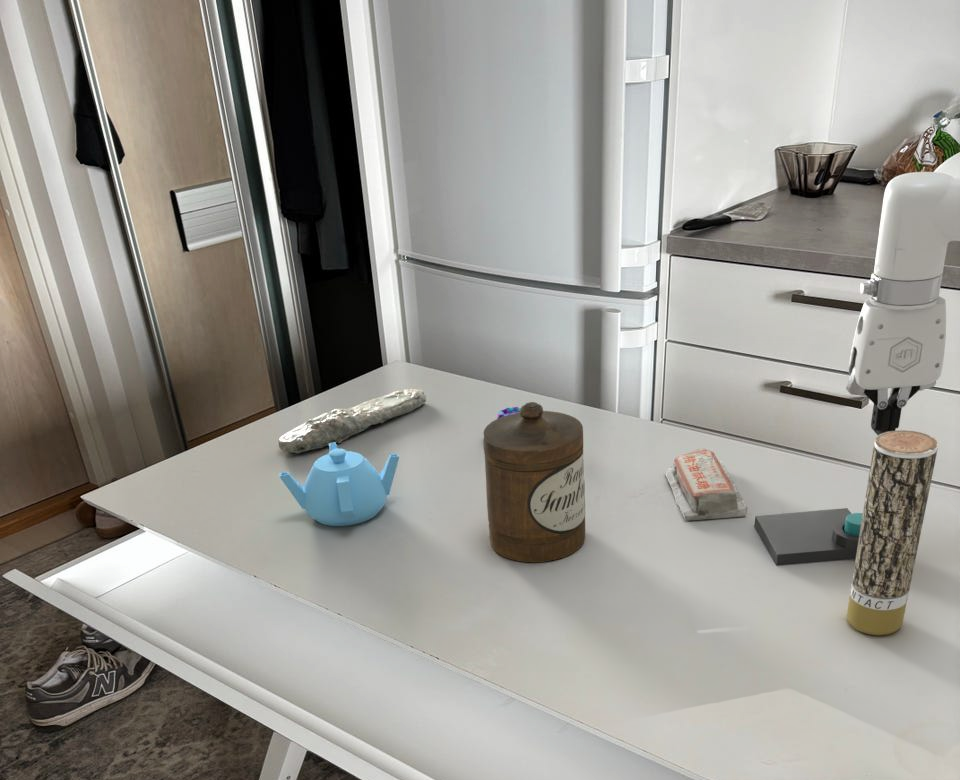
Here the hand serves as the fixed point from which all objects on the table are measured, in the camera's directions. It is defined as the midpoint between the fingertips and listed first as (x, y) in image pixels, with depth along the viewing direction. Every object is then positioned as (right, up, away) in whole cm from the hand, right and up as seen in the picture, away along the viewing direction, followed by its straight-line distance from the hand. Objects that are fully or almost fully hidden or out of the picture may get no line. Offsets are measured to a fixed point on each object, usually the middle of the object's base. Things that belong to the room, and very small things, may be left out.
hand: (883, 433), depth 126 cm
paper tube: (-1, -25, 0) cm, 25 cm away
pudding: (-45, +11, +59) cm, 75 cm away
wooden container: (-43, -11, +26) cm, 51 cm away
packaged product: (-15, -3, +34) cm, 37 cm away
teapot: (-74, -5, +40) cm, 84 cm away
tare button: (+2, -11, +14) cm, 18 cm away
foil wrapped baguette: (-77, +16, +70) cm, 105 cm away
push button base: (-3, -12, +19) cm, 22 cm away
